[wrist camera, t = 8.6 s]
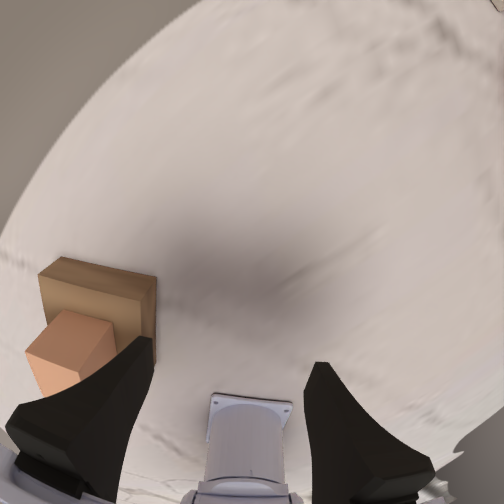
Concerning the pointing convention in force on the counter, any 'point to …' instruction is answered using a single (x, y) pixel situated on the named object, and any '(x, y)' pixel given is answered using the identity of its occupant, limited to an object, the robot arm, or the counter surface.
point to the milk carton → (499, 4)
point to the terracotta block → (70, 351)
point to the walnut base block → (102, 297)
